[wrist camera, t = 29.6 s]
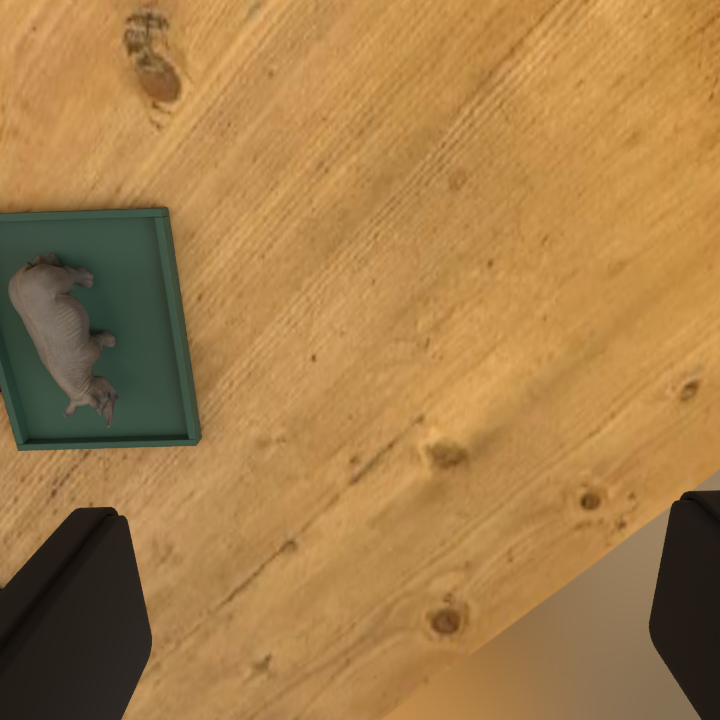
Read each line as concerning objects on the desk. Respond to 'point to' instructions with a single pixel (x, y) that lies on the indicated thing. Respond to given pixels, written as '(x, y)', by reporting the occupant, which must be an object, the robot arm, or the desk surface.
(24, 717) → the robot arm
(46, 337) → the rhino figurine
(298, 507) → the desk surface
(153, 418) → the green tray
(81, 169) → the desk surface
